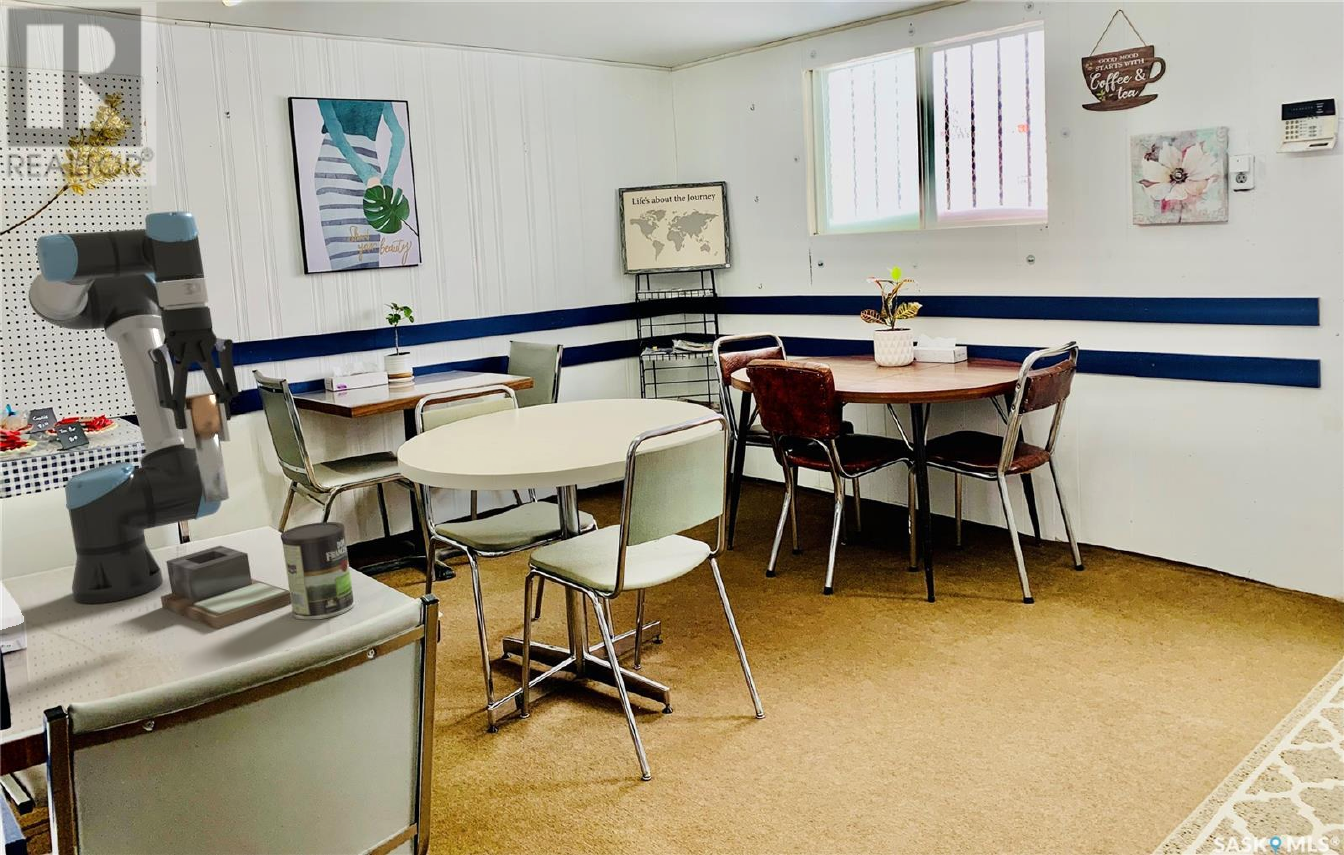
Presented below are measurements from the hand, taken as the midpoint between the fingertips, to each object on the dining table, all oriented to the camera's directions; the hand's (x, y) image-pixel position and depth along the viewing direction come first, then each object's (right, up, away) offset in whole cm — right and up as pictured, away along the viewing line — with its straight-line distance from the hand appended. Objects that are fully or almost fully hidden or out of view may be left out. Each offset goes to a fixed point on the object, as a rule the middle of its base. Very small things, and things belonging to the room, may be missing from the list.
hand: (207, 443), depth 183 cm
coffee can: (+19, -29, +2) cm, 34 cm away
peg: (+1, -10, +2) cm, 10 cm away
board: (0, -29, +8) cm, 30 cm away
